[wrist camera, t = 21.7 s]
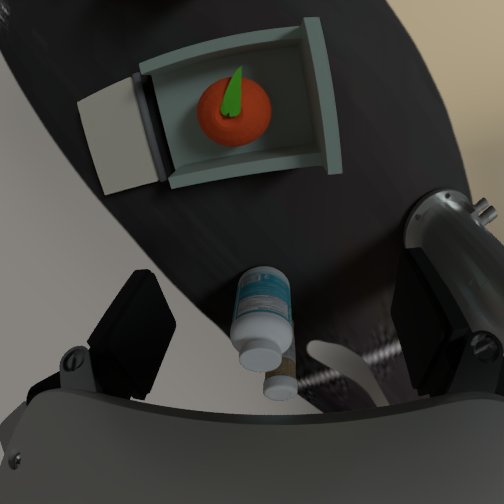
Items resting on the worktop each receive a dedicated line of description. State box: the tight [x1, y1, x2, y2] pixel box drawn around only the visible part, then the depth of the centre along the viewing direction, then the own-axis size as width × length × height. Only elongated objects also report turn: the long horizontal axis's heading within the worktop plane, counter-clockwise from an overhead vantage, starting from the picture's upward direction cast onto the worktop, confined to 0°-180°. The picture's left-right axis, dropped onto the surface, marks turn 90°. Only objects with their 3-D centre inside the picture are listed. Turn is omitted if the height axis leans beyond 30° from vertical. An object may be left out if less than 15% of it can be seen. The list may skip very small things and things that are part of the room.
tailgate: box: [77, 72, 167, 195], centre depth 27 cm, size 1×13×9 cm
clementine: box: [197, 66, 272, 147], centre depth 23 cm, size 8×7×7 cm
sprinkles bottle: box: [263, 320, 297, 401], centre depth 38 cm, size 5×5×13 cm
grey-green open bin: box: [139, 17, 342, 189], centre depth 23 cm, size 17×13×9 cm
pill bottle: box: [230, 266, 293, 372], centre depth 34 cm, size 8×7×14 cm
